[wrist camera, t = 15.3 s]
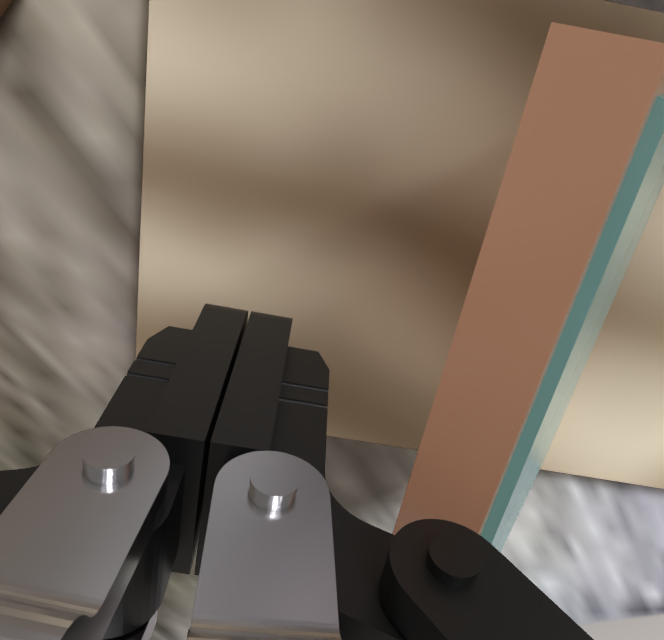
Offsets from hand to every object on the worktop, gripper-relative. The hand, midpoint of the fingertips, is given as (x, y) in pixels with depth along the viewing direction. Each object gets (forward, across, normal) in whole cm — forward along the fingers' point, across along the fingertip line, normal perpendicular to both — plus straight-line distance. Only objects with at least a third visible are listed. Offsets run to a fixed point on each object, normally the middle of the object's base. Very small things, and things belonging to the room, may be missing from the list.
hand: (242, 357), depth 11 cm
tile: (+2, -5, 0) cm, 6 cm away
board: (+9, -9, 0) cm, 13 cm away
